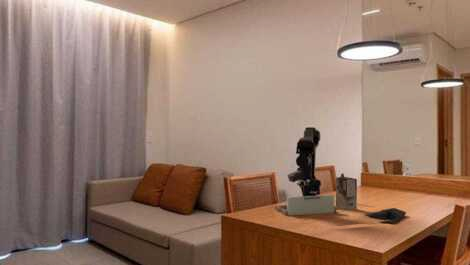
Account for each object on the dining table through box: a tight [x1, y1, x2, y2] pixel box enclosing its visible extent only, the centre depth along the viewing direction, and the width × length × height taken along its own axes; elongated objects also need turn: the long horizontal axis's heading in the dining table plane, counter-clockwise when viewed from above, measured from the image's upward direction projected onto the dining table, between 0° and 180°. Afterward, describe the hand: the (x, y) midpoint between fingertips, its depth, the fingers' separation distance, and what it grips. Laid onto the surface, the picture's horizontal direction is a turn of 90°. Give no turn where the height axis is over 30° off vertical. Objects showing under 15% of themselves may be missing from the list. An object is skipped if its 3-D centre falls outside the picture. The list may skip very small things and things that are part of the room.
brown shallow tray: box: [274, 204, 337, 216], centre depth 165 cm, size 12×26×3 cm, turn 107°
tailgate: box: [286, 194, 335, 216], centre depth 159 cm, size 2×24×8 cm, turn 107°
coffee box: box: [335, 176, 358, 211], centre depth 174 cm, size 9×6×16 cm
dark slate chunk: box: [364, 207, 407, 225], centre depth 159 cm, size 15×22×5 cm
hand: (305, 198), depth 165 cm, fingers closed
